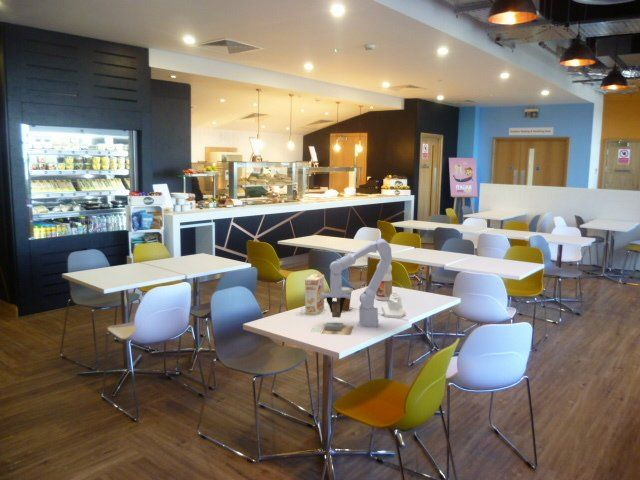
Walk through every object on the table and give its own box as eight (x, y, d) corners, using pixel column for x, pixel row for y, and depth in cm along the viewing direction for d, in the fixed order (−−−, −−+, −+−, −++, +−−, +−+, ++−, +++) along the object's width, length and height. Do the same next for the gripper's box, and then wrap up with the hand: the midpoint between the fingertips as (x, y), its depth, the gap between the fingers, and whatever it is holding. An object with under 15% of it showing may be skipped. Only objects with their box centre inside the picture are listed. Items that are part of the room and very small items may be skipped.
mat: (353, 326, 265) (353, 326, 265) (350, 335, 251) (350, 334, 251) (325, 325, 267) (325, 324, 267) (321, 334, 254) (321, 333, 253)
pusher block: (341, 313, 270) (340, 301, 268) (340, 317, 267) (339, 305, 264) (333, 313, 271) (332, 301, 268) (332, 317, 267) (331, 304, 265)
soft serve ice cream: (409, 315, 288) (415, 292, 283) (395, 324, 277) (400, 300, 272) (390, 306, 295) (395, 283, 290) (375, 314, 284) (380, 291, 279)
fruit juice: (392, 301, 313) (392, 254, 309) (376, 301, 314) (376, 254, 310) (391, 297, 322) (392, 251, 318) (375, 297, 323) (376, 251, 319)
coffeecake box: (317, 315, 285) (317, 279, 282) (304, 314, 287) (304, 279, 284) (324, 308, 299) (324, 274, 296) (312, 307, 301) (312, 273, 298)
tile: (342, 323, 262) (341, 326, 256) (342, 327, 263) (341, 331, 257) (326, 322, 264) (324, 326, 258) (326, 326, 264) (324, 330, 258)
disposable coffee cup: (354, 310, 293) (355, 289, 292) (339, 312, 290) (339, 291, 288) (347, 306, 302) (347, 285, 300) (332, 308, 299) (332, 287, 297)
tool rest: (322, 329, 260) (322, 328, 260) (320, 332, 256) (320, 332, 255) (312, 329, 261) (312, 328, 261) (310, 332, 256) (310, 331, 256)
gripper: (351, 284, 268) (351, 310, 269) (323, 283, 270) (323, 309, 272) (349, 287, 261) (349, 314, 263) (320, 286, 263) (321, 313, 265)
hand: (336, 312), depth 267 cm, fingers closed on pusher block, 4 cm apart
